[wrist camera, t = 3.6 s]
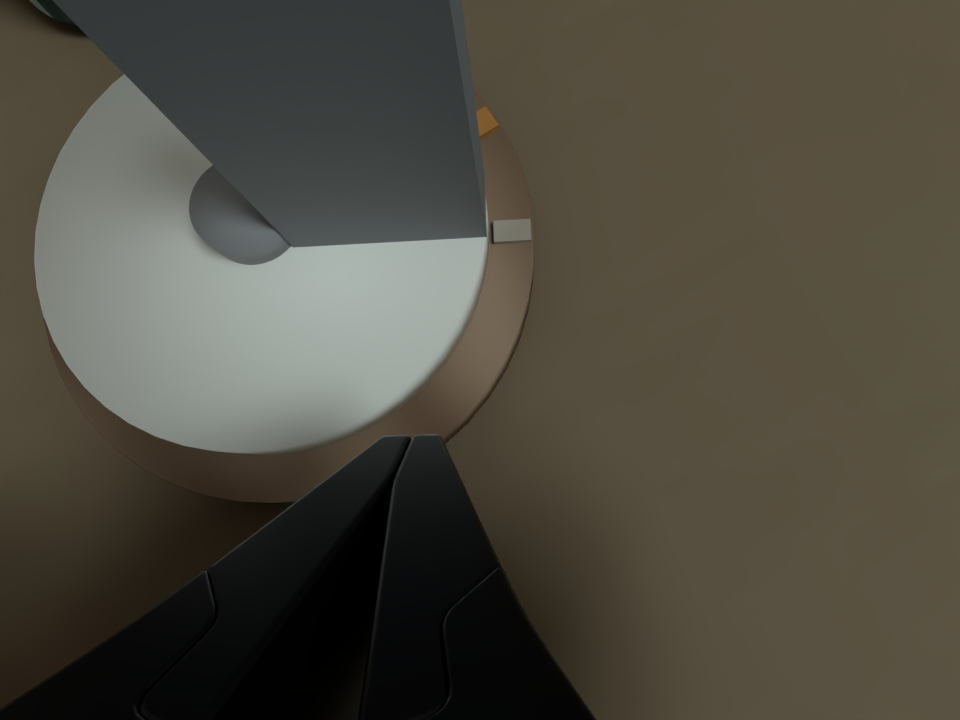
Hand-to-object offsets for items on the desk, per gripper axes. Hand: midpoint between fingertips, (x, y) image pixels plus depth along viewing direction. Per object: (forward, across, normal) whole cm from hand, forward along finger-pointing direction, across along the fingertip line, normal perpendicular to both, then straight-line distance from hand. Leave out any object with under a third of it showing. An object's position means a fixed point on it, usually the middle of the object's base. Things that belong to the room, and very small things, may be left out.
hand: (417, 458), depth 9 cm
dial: (+9, -5, 0) cm, 11 cm away
